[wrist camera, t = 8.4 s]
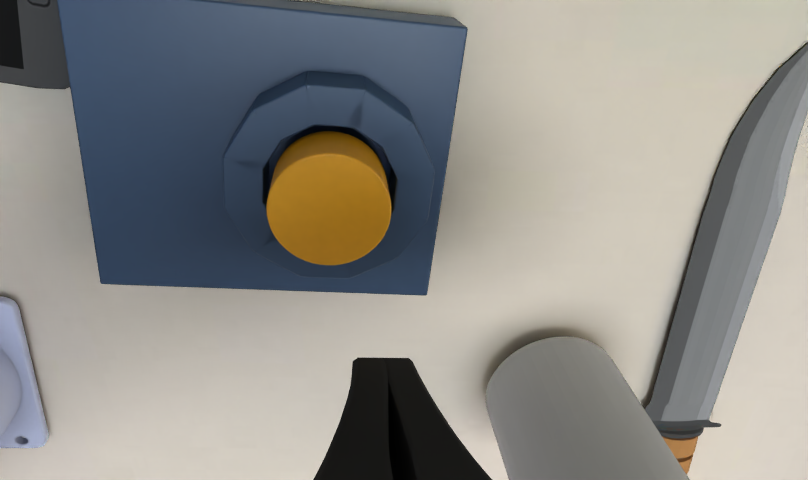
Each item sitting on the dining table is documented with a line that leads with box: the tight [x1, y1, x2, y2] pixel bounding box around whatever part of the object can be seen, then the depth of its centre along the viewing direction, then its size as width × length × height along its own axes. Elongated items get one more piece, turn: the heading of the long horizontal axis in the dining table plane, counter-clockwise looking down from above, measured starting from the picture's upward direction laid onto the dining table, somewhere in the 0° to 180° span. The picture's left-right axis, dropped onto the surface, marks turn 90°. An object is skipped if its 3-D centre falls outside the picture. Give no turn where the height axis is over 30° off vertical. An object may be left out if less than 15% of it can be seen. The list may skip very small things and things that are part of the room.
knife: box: [645, 44, 808, 475], centre depth 28 cm, size 30×1×5 cm
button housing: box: [57, 0, 468, 295], centre depth 20 cm, size 12×10×4 cm
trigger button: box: [266, 131, 392, 265], centre depth 18 cm, size 4×4×2 cm
